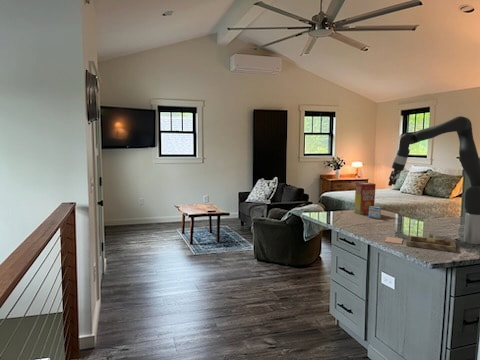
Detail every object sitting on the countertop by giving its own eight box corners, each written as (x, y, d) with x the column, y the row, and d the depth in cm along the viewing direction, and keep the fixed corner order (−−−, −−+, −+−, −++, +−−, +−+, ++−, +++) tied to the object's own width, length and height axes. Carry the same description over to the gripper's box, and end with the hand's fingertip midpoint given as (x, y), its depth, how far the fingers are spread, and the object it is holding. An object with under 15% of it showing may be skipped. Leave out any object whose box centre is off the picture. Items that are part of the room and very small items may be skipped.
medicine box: (368, 217, 279) (368, 206, 278) (370, 216, 282) (371, 205, 282) (378, 219, 274) (379, 207, 273) (380, 218, 277) (381, 207, 276)
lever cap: (434, 244, 206) (435, 233, 205) (434, 247, 199) (435, 236, 199) (426, 243, 207) (427, 232, 207) (426, 246, 201) (427, 235, 201)
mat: (402, 239, 215) (402, 238, 215) (401, 244, 205) (401, 243, 205) (386, 237, 219) (386, 236, 219) (384, 242, 209) (384, 241, 209)
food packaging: (360, 214, 290) (361, 184, 287) (353, 212, 299) (355, 182, 296) (374, 214, 293) (376, 183, 291) (367, 212, 302) (369, 182, 300)
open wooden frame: (454, 245, 204) (454, 240, 204) (455, 252, 191) (456, 247, 191) (407, 239, 216) (407, 235, 215) (406, 245, 202) (406, 241, 202)
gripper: (402, 164, 234) (393, 188, 239) (408, 163, 245) (400, 186, 250) (391, 161, 238) (382, 184, 243) (397, 160, 249) (389, 182, 254)
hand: (391, 185), depth 246 cm, fingers open, 8 cm apart
